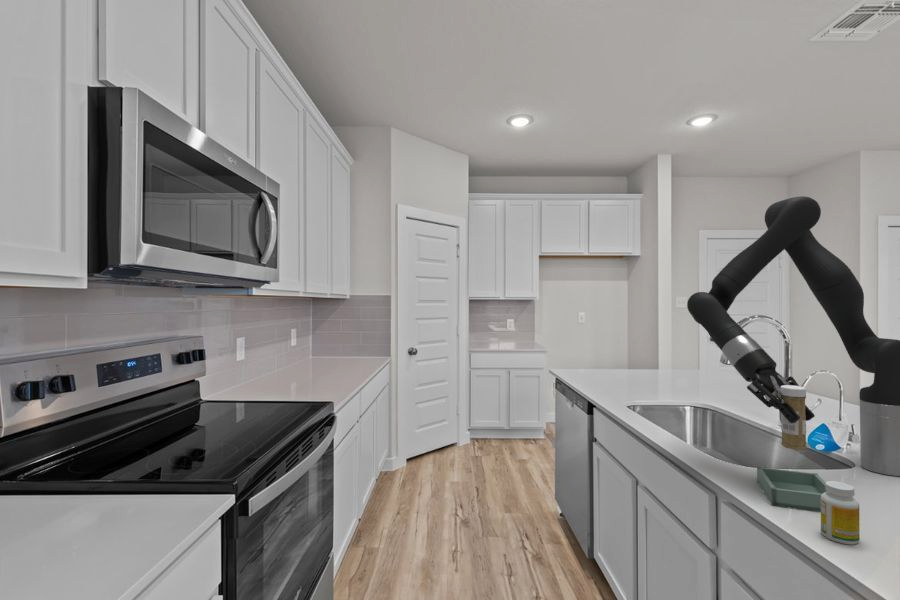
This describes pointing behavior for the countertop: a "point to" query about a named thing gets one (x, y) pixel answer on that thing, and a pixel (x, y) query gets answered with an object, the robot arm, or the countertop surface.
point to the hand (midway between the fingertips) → (803, 419)
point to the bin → (792, 488)
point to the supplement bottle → (840, 513)
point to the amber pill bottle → (795, 431)
